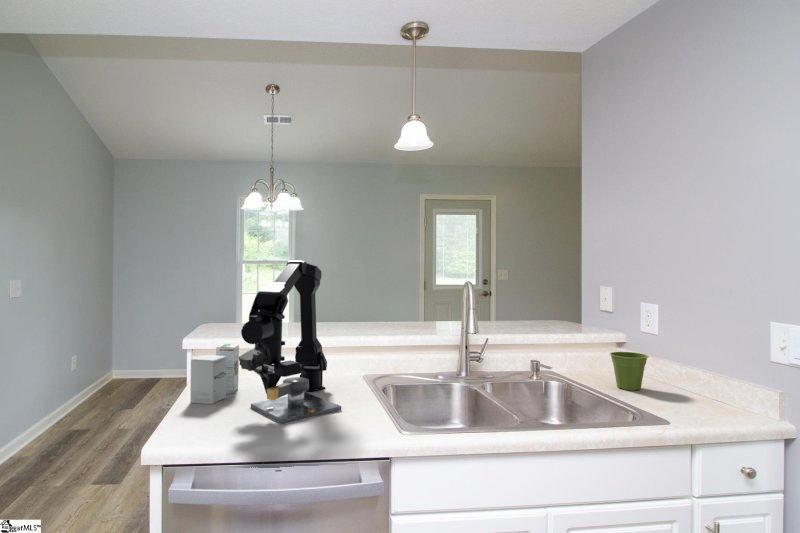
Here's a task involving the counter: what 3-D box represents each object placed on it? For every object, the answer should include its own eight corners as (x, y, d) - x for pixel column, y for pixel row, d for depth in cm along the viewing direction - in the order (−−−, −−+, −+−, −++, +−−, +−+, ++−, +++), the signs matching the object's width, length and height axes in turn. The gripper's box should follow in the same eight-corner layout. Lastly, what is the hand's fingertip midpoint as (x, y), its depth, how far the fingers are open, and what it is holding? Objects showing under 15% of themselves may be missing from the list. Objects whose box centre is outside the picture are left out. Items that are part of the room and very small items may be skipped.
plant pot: (636, 383, 169) (637, 351, 169) (655, 393, 157) (656, 358, 157) (602, 383, 169) (603, 351, 169) (619, 392, 157) (619, 357, 157)
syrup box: (219, 389, 156) (220, 343, 156) (238, 389, 157) (239, 343, 156) (214, 394, 150) (215, 346, 150) (234, 393, 151) (234, 346, 151)
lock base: (306, 396, 149) (307, 379, 149) (341, 410, 135) (341, 391, 135) (250, 407, 137) (250, 389, 136) (282, 424, 123) (282, 403, 123)
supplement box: (212, 404, 139) (213, 360, 139) (189, 402, 141) (189, 359, 141) (227, 397, 147) (227, 355, 146) (204, 396, 148) (205, 354, 148)
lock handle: (293, 385, 140) (293, 376, 140) (313, 388, 138) (313, 378, 138) (259, 397, 127) (259, 387, 127) (281, 401, 124) (281, 391, 124)
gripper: (222, 336, 128) (221, 395, 129) (268, 346, 117) (266, 411, 118) (258, 332, 137) (256, 387, 138) (303, 340, 126) (302, 401, 127)
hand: (269, 396), depth 130 cm, fingers closed
